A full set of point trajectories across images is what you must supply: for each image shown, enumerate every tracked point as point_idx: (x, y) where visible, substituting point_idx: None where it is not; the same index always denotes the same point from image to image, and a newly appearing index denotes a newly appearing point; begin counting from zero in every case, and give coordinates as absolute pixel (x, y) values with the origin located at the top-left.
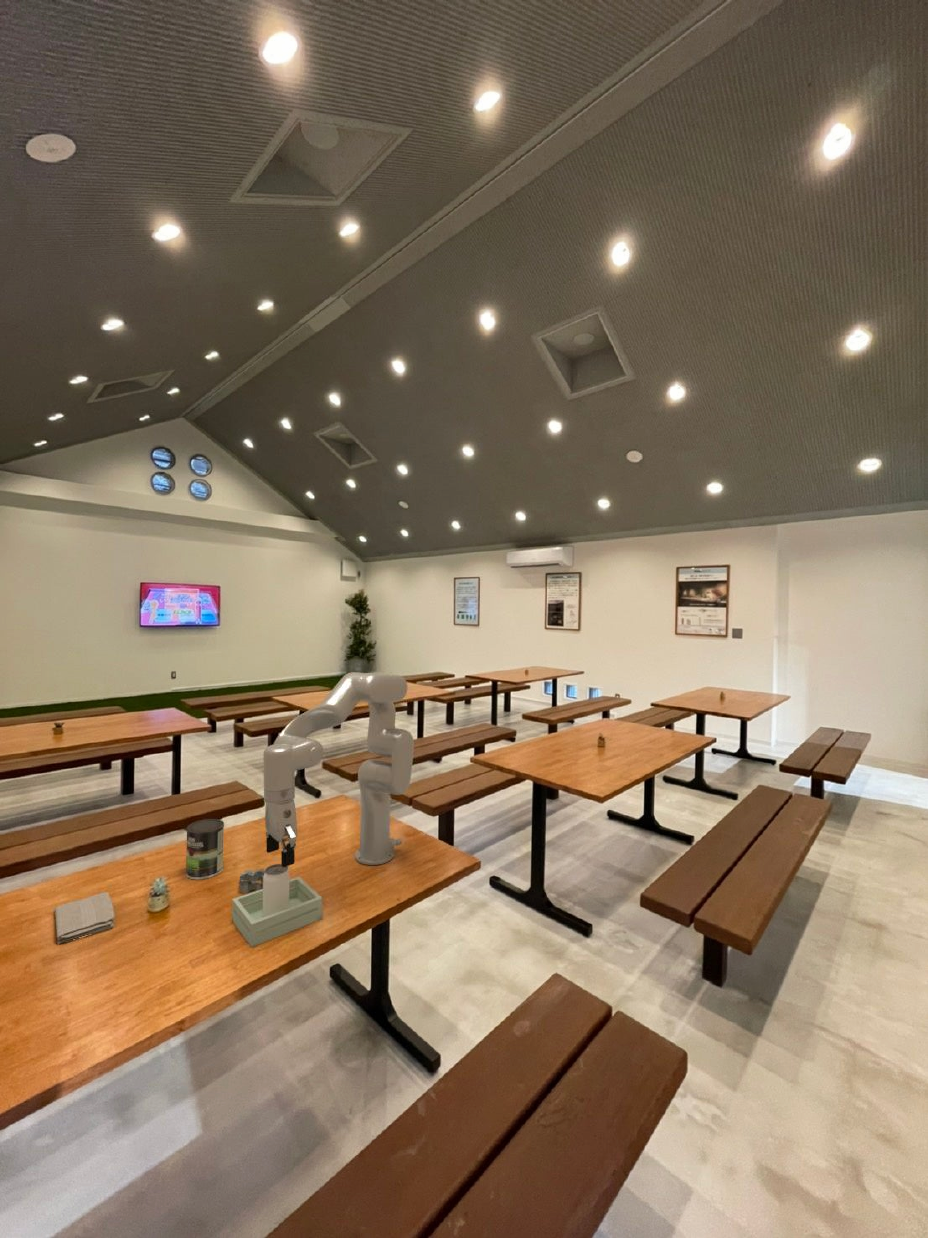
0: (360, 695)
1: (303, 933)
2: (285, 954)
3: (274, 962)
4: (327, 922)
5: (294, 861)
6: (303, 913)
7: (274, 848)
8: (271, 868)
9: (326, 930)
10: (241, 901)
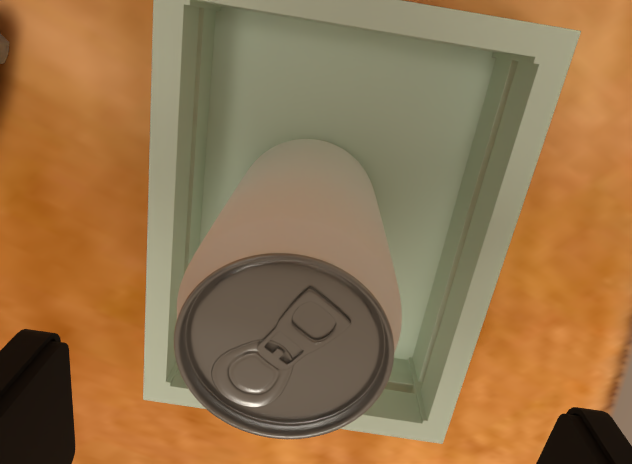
0: None
1: (535, 179)
2: (583, 311)
3: (582, 360)
4: (575, 29)
5: (617, 427)
6: (489, 148)
7: (53, 416)
8: (214, 357)
9: (625, 82)
10: (173, 356)
